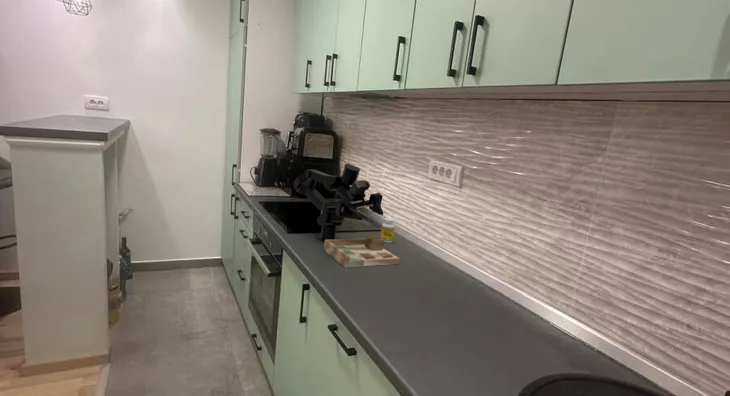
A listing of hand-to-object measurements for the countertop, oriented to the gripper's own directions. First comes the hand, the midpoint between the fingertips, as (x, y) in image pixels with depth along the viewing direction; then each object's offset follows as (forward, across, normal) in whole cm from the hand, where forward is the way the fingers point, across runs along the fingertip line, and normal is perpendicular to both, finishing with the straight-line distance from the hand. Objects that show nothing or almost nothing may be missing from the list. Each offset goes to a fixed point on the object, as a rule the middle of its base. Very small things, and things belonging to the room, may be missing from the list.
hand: (372, 216), depth 142 cm
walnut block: (-2, +5, +17) cm, 18 cm away
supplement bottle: (-12, +21, +25) cm, 35 cm away
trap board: (+1, -2, +17) cm, 17 cm away
